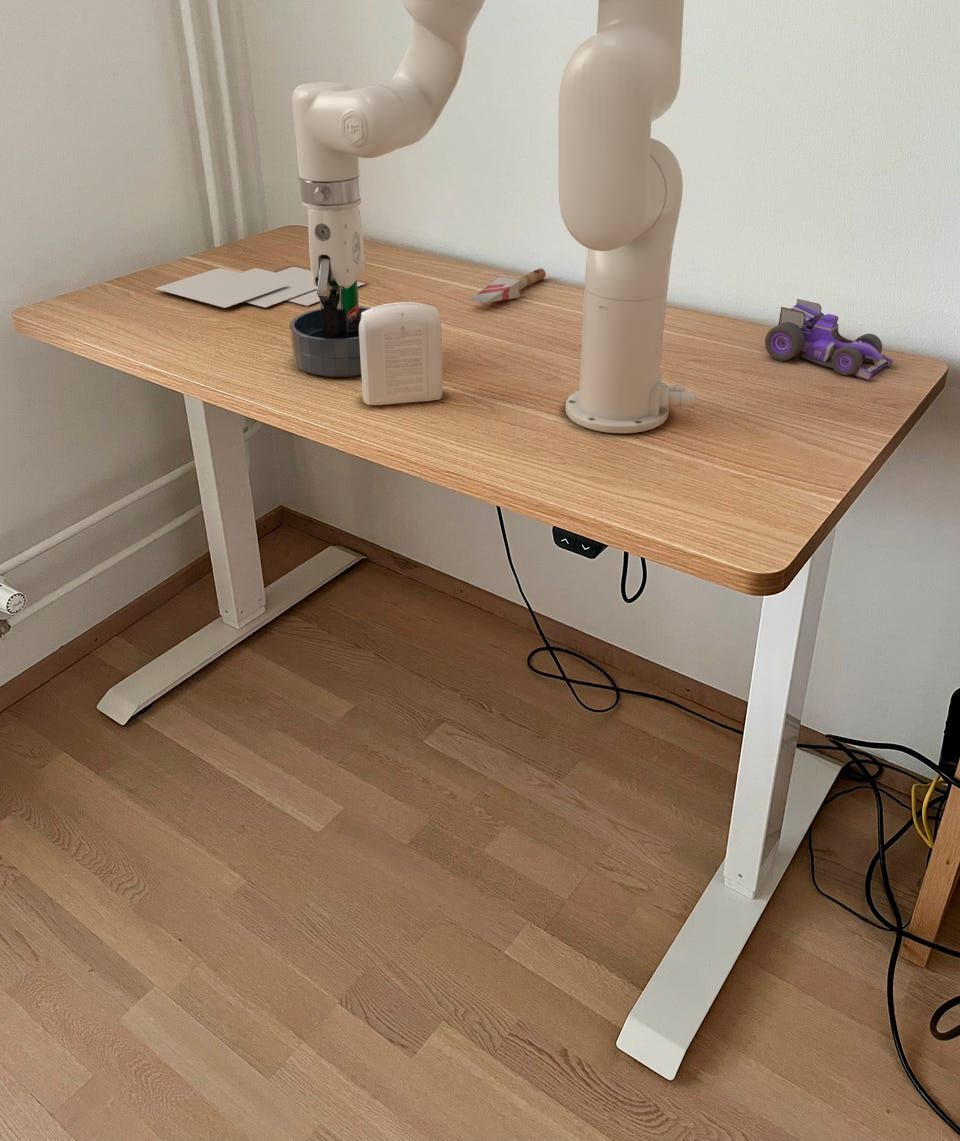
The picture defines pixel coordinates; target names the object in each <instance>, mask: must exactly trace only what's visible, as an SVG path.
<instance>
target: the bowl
mask: <svg viewBox="0 0 960 1141" xmlns="http://www.w3.org/2000/svg"><path fill="white" fill-rule="evenodd" d="M371 308H372V307H367V306H366V307H365V306H360V305H359V315H360V321H361V313H362V312H364V311H366V310H368V309H371ZM289 331H290V342H291V350H292V360H293V364H294V365H295V366H296V367H297V368H298V369H300V370H302V371H303V372H307V373H309V374H312V375H317V376H321V377H330V378H348V377H357V376H361V359H360V341H359V337H353V338H341V339H329V338H324V337H323V325H322V314H321V307H320V308H316V309H311V310H308V311H306V312H303V313H301V314H299V315H296V316H295V317H293V319H292V320H291V321H290V322H289Z"/></svg>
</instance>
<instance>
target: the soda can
mask: <svg viewBox="0 0 960 1141" xmlns="http://www.w3.org/2000/svg"><path fill="white" fill-rule="evenodd" d="M357 282H358V279H357V280H356V281H355V282H354V283H353V284H352V285H351V286H350V287H349V288H344V286H343V309H346V318H347V331H348V337H347V338H353V337H359V324H360V315H359V306H360V305H359V304H360V303H359V289H358V288H359V286H357ZM330 285H338V284H337V282H336V281H330ZM330 291H331V294H334V295H335V296H336V299H337V290H330ZM321 314H322V312H321ZM322 325H323V324H322ZM323 337H324V335H323ZM324 338H325V337H324ZM329 339H330V338H329Z"/></svg>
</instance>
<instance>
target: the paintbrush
mask: <svg viewBox="0 0 960 1141" xmlns="http://www.w3.org/2000/svg"><path fill="white" fill-rule="evenodd" d="M546 276H547V273H546V270H545V269H544V268H541V267H539V268H537V269H534V270H533V271H530V272H528V273H525V274H523V275H520V276H518V277H515V278H511V277H505V276H499V277H497V278H496V279H495V280H494V281H492V282H491V283H490V284H488V285H487V286H486V287H485V288H483V289H482V290H481V291H479V292H478V293H476V294H475V295H474V296H473V297H471V298H470V299H469V300H470V301H474V302H479V303H483V304H486V303H493V302H499V301H505V300H512V299H519V298H521V294H520V290H521V289H523V288H525V287H528V286H531V285H532V284H534V283H537V282H538V281H541V280H543V279H545V278H546Z"/></svg>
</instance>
